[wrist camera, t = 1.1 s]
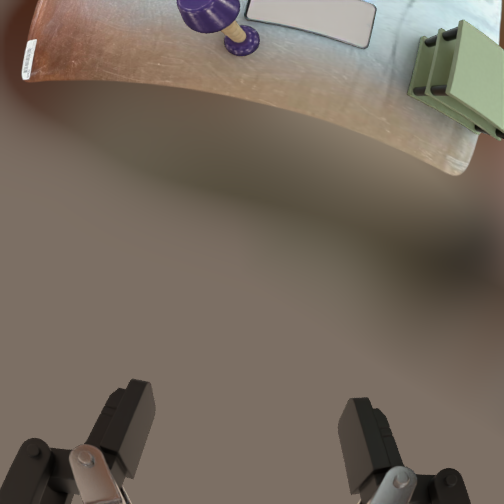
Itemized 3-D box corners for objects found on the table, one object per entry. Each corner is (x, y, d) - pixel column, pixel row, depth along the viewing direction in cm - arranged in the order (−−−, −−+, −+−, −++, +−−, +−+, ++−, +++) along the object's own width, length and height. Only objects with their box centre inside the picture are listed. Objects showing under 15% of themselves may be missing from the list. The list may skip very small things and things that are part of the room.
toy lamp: (236, 65, 29) (191, 33, 15) (211, 41, 28) (152, -1, 13) (267, 42, 27) (247, -9, 13) (242, 17, 26) (204, -42, 11)
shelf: (406, 94, 28) (449, 93, 18) (420, 37, 24) (463, 19, 14) (476, 134, 28) (525, 149, 18) (488, 80, 24) (538, 82, 14)
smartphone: (255, -25, 22) (377, 5, 22) (256, -23, 23) (376, 7, 23) (242, 18, 26) (367, 50, 26) (243, 20, 26) (366, 50, 26)
